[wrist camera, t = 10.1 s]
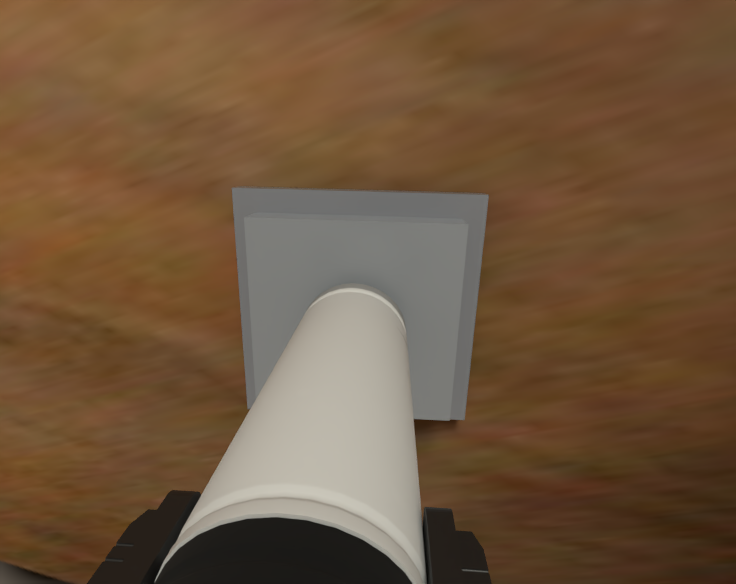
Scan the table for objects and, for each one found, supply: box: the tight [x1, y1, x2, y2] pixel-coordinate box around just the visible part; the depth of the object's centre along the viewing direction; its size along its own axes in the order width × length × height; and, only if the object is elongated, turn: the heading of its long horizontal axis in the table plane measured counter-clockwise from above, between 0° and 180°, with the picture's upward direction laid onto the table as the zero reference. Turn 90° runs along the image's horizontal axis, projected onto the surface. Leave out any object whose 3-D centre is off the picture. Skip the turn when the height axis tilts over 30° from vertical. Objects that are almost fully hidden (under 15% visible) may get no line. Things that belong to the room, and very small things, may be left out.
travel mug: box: [154, 283, 427, 584], centre depth 16 cm, size 6×7×20 cm
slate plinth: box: [232, 186, 489, 421], centre depth 28 cm, size 16×16×4 cm
